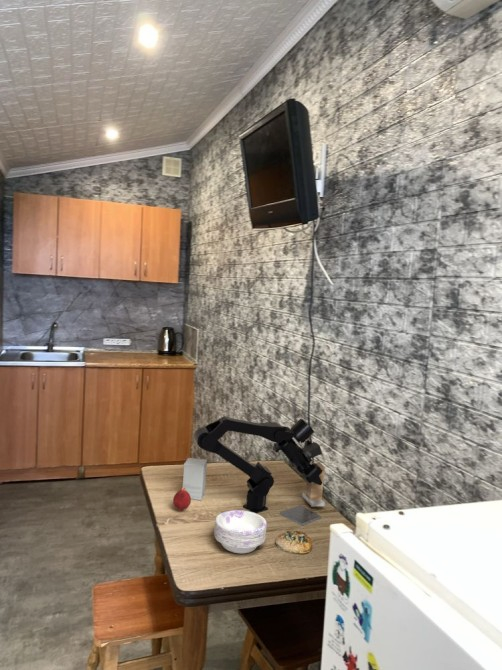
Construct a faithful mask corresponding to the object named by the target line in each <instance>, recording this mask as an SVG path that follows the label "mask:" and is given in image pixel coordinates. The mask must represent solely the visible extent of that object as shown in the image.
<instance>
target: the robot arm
mask: <svg viewBox="0 0 502 670" xmlns="http://www.w3.org/2000/svg"><path fill="white" fill-rule="evenodd" d="M228 432H234V433H240V434H247V435H252V436H258V437H260V438H264V439H265V440H267V441H269V442H273V447H272V450H273V451H274V452H275V453H276V454H277V453H279V452H282V454H283V455H284V456H285V457H286V458H287V459H288V462H289V463H290V464H291V466H292V467H293V468H295V469H296V471H298V473H301V474H302V477H303V478H304V479H305V480H306V482H307V481H308V482H309V483H312V482H314V483H316V484H318V485H321V484H322V481H321V479H320V477H319V475H320V474H321V473H322V471H323V470H322V469H321V468H320V467H319V466H318V465H317V464H310V463H312V461H313V458H315V457H317V456H320V455H322V454H323V451H322V449H321V445H320V444H319V443H317V442H316V441H311V440H309V438H310V437H312V435H313V434H315V430H314V429H313V428H312V427H311V426H310V425H309V424H308V423H307V422H306V421H305V420H304V419H303V418H299V419H298V420H297V422H296V423H295V424H294V425H293V426H291V427H288V426H284V425H281V424H280V423H278V422H275V421H272V422H271V421H267V422H254V421H248V420H243V419H238V418H237V419H236V418H232V417H227V416H222V417H220V418H219V419H217V420H215V421H213V422H210V423H208V424H207V425H205V426H203V427H199V428H198V429H196V430H195V432H194V440H195V442H196V443H197V445H198V447H199V448H200V449H202V450H204V451H206V452H208V453H212V454H215V455H217V456H219V457H220V458H222V459H224V460H225V461H226V462H227V463H229V464H231V465H232V466H234V467H235V468H237V469H238V470H239V471H241V472H242V473H244V474H245V475H247V476H248V477H249V478H248V479H247V480H246V485H247V487H248V490H247V491H246V492H247V495H246V503H245V504H243V506H242V507H243V508H245V510H247V511H249V512H253V513H256V514H259V513H261V512H263V511H267V510H269V507H267V506H266V504H267V496H268V494H269V492H270V490H271V488H273V486H274V484H275V478H274V477H273V475H272V474H273V473H272V472H271V470H269V468H268V467H267V466H265V465H262V464H261V462H259V461H257V462H256V464H255V463H251V462H250V461H249V460H247V459H246V458H244V457H243V456H241V455H240V454H239V453H238V452H236V451H235V450H233V449H232V448H230V447H228V446H227V445H225V444H224V443H222V442H221V440H220V439H221V438H222V437H223V436H224V435H225V434H226V433H228ZM296 442H297V443H299V444H300V443H301V444H304V446H303V447H301V446H300V445H298V444H297V443H296ZM308 466H309V467H308Z"/></svg>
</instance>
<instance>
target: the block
mask: <svg viewBox="0 0 502 670" xmlns="http://www.w3.org/2000/svg"><path fill="white" fill-rule="evenodd" d="M310 464H317V465H318V466H319V467H320V468H321V469H322V470H323V471H322V473H321V474H320V475H319V477H320V479H321V481H322V484H321V485H318V484H316V483H314V482H312V483H309V482H308V481H307V480H306V487H305V492H302V494H301V495H302V498H303V499H305V501H306V502H307V503H308V504H309V505H310V506H311V508H312V507H325V505H326V502H325V501H324V500H323V499H322V498H323V491H324V480H325V469H326V466H324V465H323V464H322V463H321V462H310ZM308 467H309V466H308Z"/></svg>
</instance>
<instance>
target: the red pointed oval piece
mask: <svg viewBox="0 0 502 670" xmlns="http://www.w3.org/2000/svg"><path fill="white" fill-rule="evenodd" d="M182 487H183V486H182ZM182 487H181V488H180V490H179V491H177V492H176V493H175V494H174V497H173V500H172V502H173V505H174V508H176V509H177V510H178V511H179V512H183V511H185V510H186V509H187V508H189V506H190V505H191V502H192V501H191V500H192V499H191V497H190V494H189V493H188V492H187V491H185V488H184V487H183V488H182Z"/></svg>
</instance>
